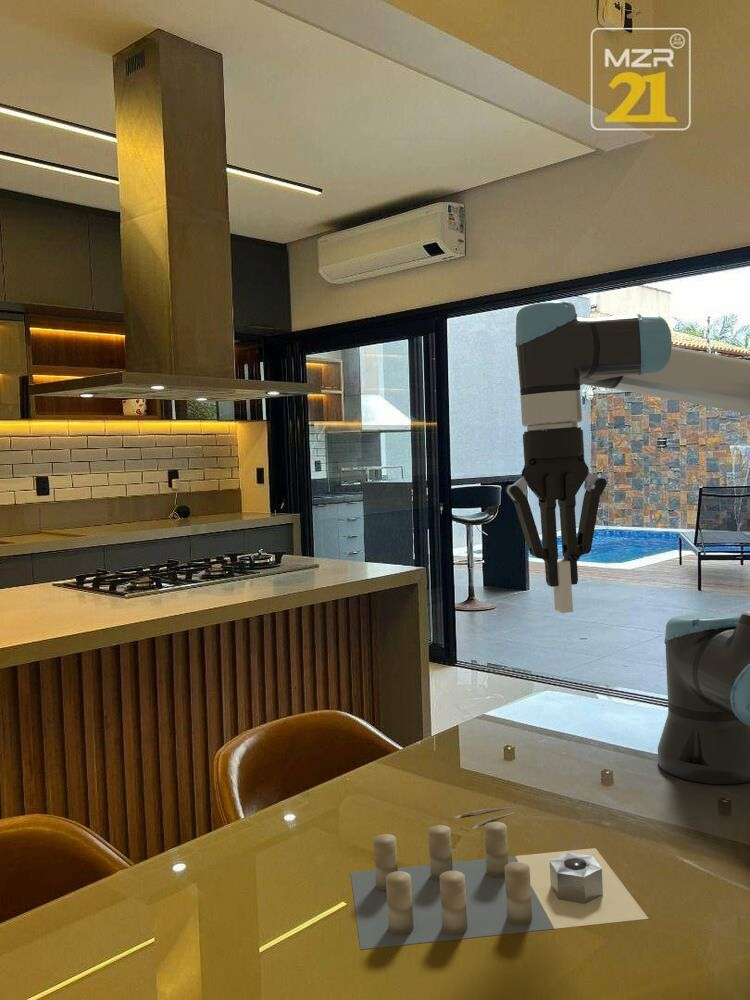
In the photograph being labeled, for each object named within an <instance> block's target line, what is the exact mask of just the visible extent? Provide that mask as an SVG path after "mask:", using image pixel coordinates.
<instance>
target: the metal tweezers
mask: <svg viewBox="0 0 750 1000" xmlns="http://www.w3.org/2000/svg"><path fill="white" fill-rule="evenodd" d="M511 808H513V806H509V807H499V808H486V809H485V808H484V809H478V810H473V811H470V812H465V813H462V814H461V815H460V814H459V815H457V816H454V818H456V819H460V818H462V817H467V816H470V815H473V816H477V815H482V814H486V813H491V812H495V811H501V810H506V809H511ZM515 812H516V811H514V812H511V813H507V814H504V815H500V816H494V817H491V818H488V819H486V820H482V821H480V822H478V823H476V825H474V826H473V827H471V829H472V830H473V829H474V830H475V829H478V828H479V827H480V826H484V825H485V824H487V823H489V822H493V821H497V820H499V819H501V818H505V817H507V816H510V815H512V814H514V813H515Z"/></svg>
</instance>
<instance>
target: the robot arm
mask: <svg viewBox="0 0 750 1000" xmlns="http://www.w3.org/2000/svg"><path fill="white" fill-rule="evenodd" d="M515 320H516V321H515V347H516V353H517V354H516V355H517V356H516V357H517V366H518V367H517V368H518V369H517V370H518V378H519V379H518V380H519V390H520V392H519V393H520V411H521V412H520V413H521V426H523V427H526V428H527V429H526V431H524V432H523V433H522V443H523V458H524V459H523V460H524V465H523V469H522V470H521V477H520V478H519V479H517V480H516V481H515V482H514V483H513V484H508V485H507V486H506V487H505V493H506V494H507V495H508V497H509V498H510V499H511V500H512V502H513V503H514V506H515V509H516V514H517V517H518V519H519V524H520V526H521V530H522V533H523V536H524V540H525V542H526V546H527V549H528V552H529V554H530V555H531V556H532V557H534V558H537V559H540V560H543V561H544V570H545V582H546V584H547V586H548V587H550V588H552V587H553V596H554V597H553V600H554V601H553V602H554V609H555V610H556V611H557V612H559V613H561V614H565V613H574V606H573V604H574V603H573V589H572V588H573V587H572V586H575V585H577V584H578V582H579V576H578V575H579V574H578V572H579V571H578V561H579V560H580V558H581V557H582V556H584V555H587V554H590V553H591V551H592V546H593V540H594V535H595V534H594V533H595V528H596V522H597V516H598V511H599V504H600V500H601V499H600V498H601V496H602V494H603V492H604V490H605V489H606V487H607V485H608V482H607V480H606V479H605V478H604V477H603V478H602V477H598V476H596V475H595V474H593V473H591V472H590V470H589V466H588V465H587V463H586V460H585V446H584V445H585V444H584V430H583V429H582V428H581V427H579V426H578V425H579V423H581V422H582V421H583V413H582V411H583V410H582V399H581V386H582V385H586V386H591V387H592V386H593V387H597V388H603V389H611V390H617V391H622V392H629V393H633V394H639V395H645V396H651V397H656V398H660V399H668V400H670V401H671V400H672V401H676V402H684V403H689V404H694V405H699V406H705V407H709V408H715V409H722V410H726V411H733V412H737V413H738V412H739V413H744V414H750V360H747V359H742V358H736V357H731V356H726V355H720V354H714V353H709V352H705V351H699V350H694V349H689V348H688V349H687V348H683V347H678V346H673V339H672V332H671V329H670V326H669V324H668V322H667V321H666V319H665V318H663V317H662V316H660V315H659V314H658V315H657V314H640V313H636V314H634V315H632V314H631V315H621V316H608V317H607V316H605V317H593V318H586V317H585V318H583V317H578V313H577V311H576V307H575V305H574V304H573V303H572V302H570V301H560V300H558V301H546V302H545V301H544V302H538V303H533V304H528V305H526V306H523V307H521V308H520V309H519V311H518V312H517V314H516V318H515ZM583 483H584V484H583ZM527 486H528V488H529V489H530V490H531V491H532V493H533V494H534V496H536V498H537V499H538V507H539V510H540V526H541V538H540V534H539V531H538V528H537V525H536V522H535V519H534V515H533V512H532V508H531V506H530V502H529V500H528V498H527V496H528V493H529V491H528V489H527ZM582 486H583V487H584V490H585V492H584V494H583V498H582V499H583V500H582V505H581V512H580V518H579V523H578V524H579V525H578V529H577V522H576V521H577V520H576V519H577V518H576V505H577V502H576V501H577V500H576V499H577V498H576V495H577V494H578V492H579V490H581V487H582ZM557 504H558V507H559V508H558V509H559V519H560V520H559V521H560V535H561V536H560V537H561V549H562V550H561V551H562V557H563V558H559V549H558V548H559V547H558V532H557V529H558V528H557V515H556V508H557ZM664 634H665V637H664V645H665V664H666V665H665V666H666V684H667V685H666V686H667V707H668V709H667V717H666V720H665V724H664V726H663V730H662V732H661V737H660V739H659V742H658V746H657V764H658V765H659V767H660V768H661V769H662V770H663V771H664V772H666V773H667V774H670V775H671V776H673V777H676V778H678V779H679V778H680V779H683V780H687V781H691V782H695V783H701V784H702V783H703V784H711V785H712V784H714V785H736V784H737V785H738V784H744V783H747V782H748V783H749V782H750V609H748V610H745V611H743V612H742V613H734V612H733V613H732V612H712V613H711V612H710V613H694V614H693V613H692V614H683V615H677V616H675V617H672V618H670V619H669V620H668V621H667V623H666V624H665V633H664Z"/></svg>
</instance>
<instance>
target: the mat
mask: <svg viewBox="0 0 750 1000" xmlns="http://www.w3.org/2000/svg"><path fill="white" fill-rule="evenodd" d="M567 852H569V853H575V854H582V855H589V856H593V857H594V858H595V860H596V861H597V862H598V864H599V865H600V866H601V868H602V883H603V895H602V896H600V897H598V898H596V899H594V900H592V901H590V902H588V903H586V904H581V903H576V902H570V901H564V900H558V898H557V896H556V895H555V893H554V891H553V889H552V888H551V882H550V860H551V859H554V858H556V857H558V856H560V855H562V854H565V853H567ZM511 862H522V863H525V864H527V865H528V866H529V867H530V884H531V906H532V921H531V922H530V923H529V924H527V925H514V924H511V923H510V922H509V921H508V920H507V906H506V885H505V877H503V878H493V877H490V876H488V875H487V873H486V858H482V859H473V860H471V859H470V860H462V861H461V860H460V861H452V866H453V871H459V872H461V873H463V874H464V876H465V892H466V911H467V931H466V932H465V933H463V934H460V935H449V934H447V933H445V932H444V931H443V930H442V914H441V895H440V881H435V880H433V879H432V878H431V874H430V864H422V865H421V864H420V865H413V866H412V865H411V866H402V867H398V871H403V872H407V873H409V874H410V876H411V890H412V908H413V926H414V929H413V931H412V932H411V933H409V934H407V935H394V934H392V933H391V932H390V931H389V925H388V907H387V892H384V891H380V890H378V889H377V888H376V877H375V869H370V870H361V871H352V872H349V873H350V879H351V881H350V882H351V889H352V895H353V902H354V903H353V904H354V911H355V917H356V918H355V919H356V920H355V921H356V927H357V933H358V940H359V941H358V942H359V949H360V950H361V951H362V950H372V949H381V948H389V947H400V946H410V945H420V944H428V943H437V942H439V943H440V942H446V941H447V942H448V941H457V940H463V939H464V940H465V939H474V938H484V937H493V936H495V937H496V936H502V935H512V934H513V935H515V934H521V933H530V932H540V931H541V932H542V931H549V930H550V931H551V930H557V929H567V928H568V929H570V928H577V927H579V928H580V927H588V926H596V925H598V926H599V925H603V924H604V925H605V924H615V923H626V922H633V921H634V922H635V921H643V920H649V917H648V916H647V914H646V913H645V911H643V909H642V908H641V907H640V905H639V904H638V902H637V901H636V899H634V897H633V896H632V894H631V893H630V892H629V891H628V889H627V888H626V887H625V885H624V884H623V882H622V881H621V880H620V878H619V877H618V875H617V874H616V873H615V872H614V870H613V869H612V867H610V865H609V864H608V862H607V861H606V860H605V859H604V857H603V856H602V854H600V852H599V851H598V849H597V848H596V847H595V848H584V849H583V848H581V849H572V850H563V851H554V852H553V851H551V852H542V853H532V854H521V855H512V856H508V863H511Z"/></svg>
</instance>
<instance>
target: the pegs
mask: <svg viewBox="0 0 750 1000" xmlns="http://www.w3.org/2000/svg"><path fill="white" fill-rule="evenodd" d="M483 828H484V829H483V833H484V850H485V851H484V852H485V853H484V854H485V859H486V873H487V875H488V876H490V877H493V878H503V877H505V885H506V906H507V920H508V921H509V922H510V923H511V924H514V925H527V924H529V923H530V922H531V921H532V906H531V884H530V867H529V866H528V865H527V864H525V863H522V862H511V863H508V857H509V852H508V850H509V849H508V826H507V824H505V823H504V822H500V821H489V822H487V823H485V824H483ZM451 831H452V830H451V828H450V827H449V826H447V825H443V824H438V825H433V826H430V827H429V828H428V830H427V832H428V851H429V865H430V874H431V878H432V879H433V880H435V881H440V895H441V914H442V930H443V931H444V932H445V933H447V934H449V935H460V934H463V933H465V932H466V931H467V911H466V892H465V876H464V874H463V873H461V872H459V871H453V866H452V862H453V851H452V850H453V849H452V832H451ZM372 843H373V857H374V870H375V877H376V888H377V889H378V890H380V891H384V892H387V907H388V925H389V931H390V932H391V933H392V934H394V935H407V934H409V933H411V932H412V931H413V929H414V926H413V908H412V890H411V876H410V874H409V873H407V872H403V871H398V868H399V867H398V865H399V864H398V852H397V851H398V850H397V837H396V836H395V835H393V834H389V833H386V834H385V833H382V834H378V835H376V836H375V837H374V838H373V841H372Z"/></svg>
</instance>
